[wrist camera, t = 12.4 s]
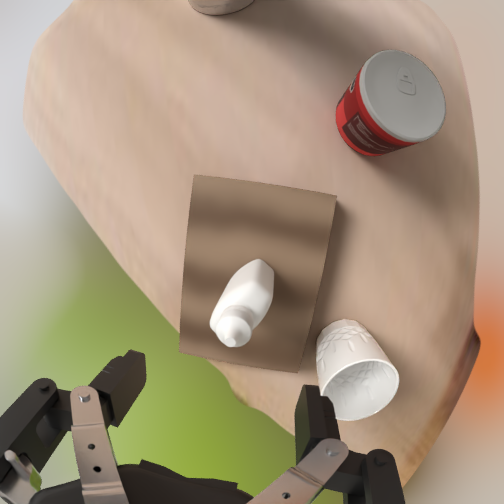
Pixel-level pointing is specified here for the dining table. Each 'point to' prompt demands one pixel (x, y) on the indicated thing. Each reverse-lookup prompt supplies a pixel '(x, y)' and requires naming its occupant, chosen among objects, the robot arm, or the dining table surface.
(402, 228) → the dining table surface
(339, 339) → the white cup
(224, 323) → the eye dropper bottle
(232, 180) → the walnut base board
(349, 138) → the canned food
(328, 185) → the dining table surface
